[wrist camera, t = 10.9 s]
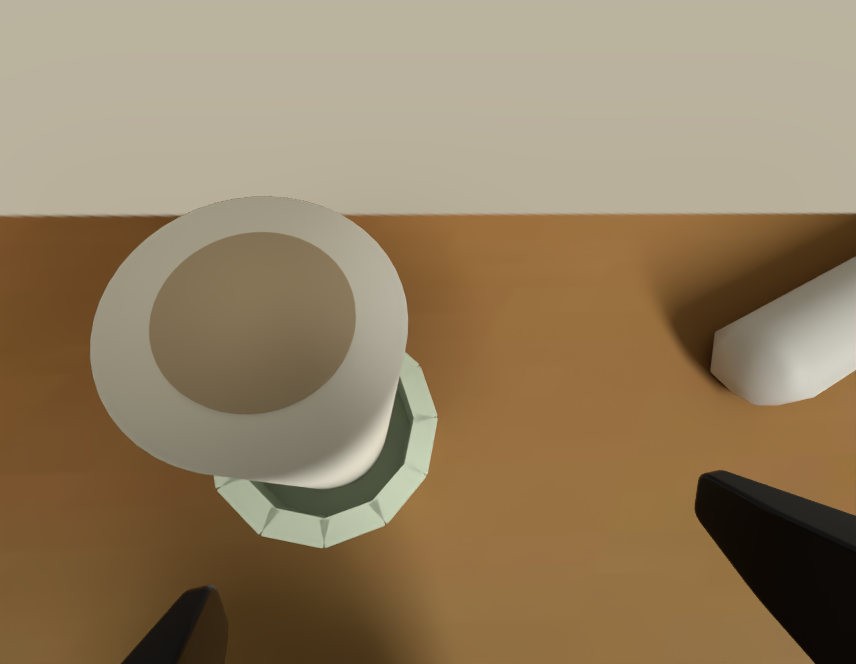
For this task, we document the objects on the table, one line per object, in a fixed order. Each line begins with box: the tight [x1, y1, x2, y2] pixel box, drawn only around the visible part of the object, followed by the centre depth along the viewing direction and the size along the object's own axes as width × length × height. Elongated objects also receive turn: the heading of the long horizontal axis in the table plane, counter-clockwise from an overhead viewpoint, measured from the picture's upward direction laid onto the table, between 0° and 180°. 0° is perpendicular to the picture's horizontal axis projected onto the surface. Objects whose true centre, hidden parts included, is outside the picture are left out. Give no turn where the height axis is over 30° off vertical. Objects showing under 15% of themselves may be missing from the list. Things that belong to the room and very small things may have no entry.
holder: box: [214, 352, 438, 548], centre depth 18 cm, size 9×9×2 cm
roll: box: [90, 196, 408, 490], centre depth 13 cm, size 5×5×13 cm
